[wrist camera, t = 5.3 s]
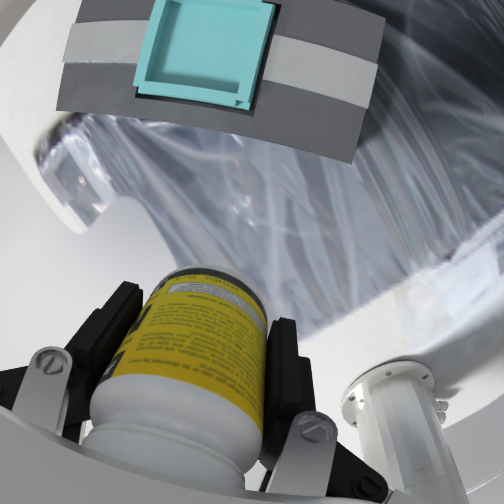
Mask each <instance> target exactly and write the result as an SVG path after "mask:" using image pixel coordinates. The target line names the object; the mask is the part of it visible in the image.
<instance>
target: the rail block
mask: <svg viewBox="0 0 504 504" xmlns="http://www.w3.org/2000/svg"><path fill="white" fill-rule="evenodd" d="M155 1H156V0H82V3H81V6H80V9H79V12H78V15H77V19H76V22H75V24H72V26H71V29H70V33H69V37H68V40H67V44H66V48H65V52H64V56H63V61H62V62H65V64H64V69H63V74H62V78H61V84H60V89H59V95H58V101H57V107H56V111H69V112H84V113H96V114H107V115H117V116H126V117H134V118H142V119H150V120H157V121H164V122H170V123H177V124H183V125H189V126H195V127H200V128H206V129H211V130H216V131H222V132H227V133H231V134H236V135H241V136H246V137H250V138H255V139H259V140H263V141H268V142H272V143H276V144H280V145H284V146H288V147H292V148H296V149H300V150H303V151H307V152H311V153H314V154H318V155H321V156H325V157H328V158H332V159H335V160H339V161H342V162H345V163H349V164H352V161H353V157H354V154H355V150H356V147H357V143H358V139H359V135H360V132H361V128H362V124H363V120H364V116H365V112H366V109H368V106H369V102H370V98H371V94H372V90H373V85H374V81H375V77H376V72H377V68H378V65H377V61H378V56H379V51H380V46H381V42H382V37H383V32H384V26H385V21H386V18H384V17H381V16H379V15H376V14H373V13H371V12H368V11H365V10H362V9H359V8H356V7H353V6H350V5H347V4H344V3H341V2H337V1H334V0H263V3H268V4H273V5H275V17H274V20H273V24H272V28H271V32H270V36H269V39H268V43H267V47H266V51H265V55H264V59H263V63H262V67H261V71H260V75H259V79H258V83H257V87H256V91H255V95H254V99H253V104H252V108H251V111H248V110H243V109H238V108H233V107H228V106H222V105H217V104H211V103H205V102H199V101H193V100H186V99H179V98H172V97H164V96H156V95H147V94H142V93H138V89H139V87H137V86H133V82H134V78H135V73H136V69H137V65H138V61H139V56H140V52H141V49H142V45H143V41H144V37H145V34H146V30H147V27H148V23H149V20H150V17H151V13H152V10H153V7H154V4H155Z"/></svg>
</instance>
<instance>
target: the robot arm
mask: <svg viewBox="0 0 504 504" xmlns="http://www.w3.org/2000/svg"><path fill="white" fill-rule="evenodd" d="M142 309H143V290H142V289H139V285H138V284H134V283H131V282H127V281H124V282H123V283H122V284H121V285H120V286H119V287H118V289H117V290H116V291H115V292H114V293H113V295H112V296H111V297H110V298H109V300H108V301H107V302H106V303H105V305H104V306H103V307H102V308H101V309H99V308H98V309H95V310H94V311H93V312H92V314H91V315H90V316H89V318H87V320H86V321H85V322H84V323H83V325H82V326H81V327H80V328H79V330H78V331H77V332H76V334H75V335H74V336H73V338H72V339H71V340H70V341H69V343H68V344H67V345H66V347H65V348H64V349H63V348H59V347H53V346H50V347H44V348H42V349H40V350H38V351H37V352H36V353H35V354H34V355H33V357H32V359H31V361H30V363H29V366H25V367H20V368H15V369H9V370H5V371H0V504H470V503H469V500H468V498H467V495H466V492H465V489H464V486H463V483H462V480H461V477H460V475H459V472H458V469H457V466H456V463H455V461H454V458H453V455H452V453H451V450H450V447H449V445H448V442H447V440H446V437H445V434H444V432H443V429H442V427H441V425H440V424H443V423H444V421H445V419H446V414H445V412H443V411H446V410H447V409H448V402H447V401H438V402H436V400H435V398H434V396H433V394H432V393H433V391H434V385H435V382H434V378H433V375H432V373H431V371H430V370H429V369H428V368H427V367H426V366H425V365H423V364H421V363H418V362H414V361H398V362H393V363H388V364H385V365H382V366H379V367H377V368H375V369H373V370H371V371H369V372H367V373H366V374H364V375H362V376H361V377H360V378H359V379H357V380H356V381H355V382H354V383H353V384H352V385H351V386H350V387H349V388H348V389H347V391H346V392H345V394H344V396H343V398H342V401H341V410H342V415H343V418H344V420H345V421H346V422H347V423H348V424H349V425H351V426H353V427H355V428H358V432H359V437H360V442H361V447H362V453H363V458H364V462H363V461H362V460H361V459H359V458H358V457H357V456H355V455H354V454H353V453H352V452H350V451H349V450H348V449H346V448H345V447H344V446H343V445H341V444H340V443H339V442H338V441H337V436H338V429H337V427H336V424H335V423H334V422H333V420H332V419H331V418H329V417H328V416H327V415H325V414H323V413H321V412H317V411H316V406H315V397H314V388H313V379H312V371H311V363H310V359H309V358H307V357H301V356H299V355H298V344H297V332H296V322H295V320H292V319H287V318H281V317H280V319H279V321H276V320H274V321H273V323H272V326H271V330H270V333H269V336H268V339H267V351H266V371H265V394H264V418H263V438H262V447H261V452H260V455H259V458H258V460H260V463H261V464H262V465H263V466H264V467H265V468H266V470H265V472H264V474H263V477H262V480H261V482H260V485H259V487H258V489H257V491H249V490H242V489H235V488H229V487H223V486H217V485H212V484H207V483H202V482H197V481H192V480H188V479H184V478H179V477H175V476H171V475H167V474H164V473H160V472H156V471H153V470H149V469H146V468H143V467H139V466H136V465H133V464H130V463H127V462H124V461H121V460H118V459H115V458H112V457H110V456H107V455H104V454H102V453H99V452H96V451H94V450H91V449H89V448H86V447H84V446H81V445H82V441H83V440H84V434H85V428H86V421H87V420H90V419H91V417H90V402H91V398H92V395H93V393H94V391H95V389H96V386H97V384H98V383H99V381H100V379H101V378H102V376H103V374H104V373H105V371H106V369H107V367H108V365H109V363H110V362H111V360H112V359H113V357H114V355H115V353H116V352H117V350H118V348H119V347H120V345H121V343H122V342H123V340H124V338H125V336H126V335H127V332H128V330H129V329H130V328H131V326H132V325H133V323H134V322H135V320H136V318H137V317H138V315H139V314H140V312H141V310H142Z"/></svg>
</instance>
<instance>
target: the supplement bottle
mask: <svg viewBox="0 0 504 504" xmlns="http://www.w3.org/2000/svg"><path fill="white" fill-rule="evenodd" d="M267 327H268V318H267V311H266V307H265V304H264V301H263V299H262V297H261V295H260V294H259V292H258V291H257V289H256V288H255V287H254V286H253V285H252V284H251V283H250V282H249V281H248V280H247V279H245V278H244V277H243V276H241V275H240V274H238V273H236V272H234V271H232V270H230V269H227V268H224V267H221V266H216V265H209V264H195V265H189V266H185V267H181V268H179V269H176V270H174V271H173V272H171V273H169V274H168V275H167V276H165V277H164V278H163V279H162V280H161V281H160V283H159V284H158V285H157V287H156V288H155V289H154V291H153V292H152V294H151V295H150V297H149V299H148V300H147V302H146V304H145V306H144V307H143V309H142V310H141V312H140V314H139V315H138V317H137V318H136V320H135V322H134V323H133V325H132V326H131V328H130V329H129V330H128V332H127V335H126V336H125V338H124V340H123V342H122V343H121V345H120V347H119V348H118V350H117V352H116V353H115V355H114V357H113V359H112V360H111V362H110V363H109V365H108V367H107V369H106V371H105V373H104V374H103V376H102V378H101V379H100V381H99V383H98V384H97V386H96V389H95V391H94V393H93V395H92V398H91V402H90V417H91V421H92V425H93V427H94V428H93V429H92V430H91V431H90V433H89V434H88V436H86V437H85V438H84V440H83V441H82V445H81V446H84V447H86V448H89V449H91V450H94V451H96V452H99V453H102V454H104V455H107V456H110V457H112V458H115V459H118V460H121V461H124V462H127V463H130V464H133V465H136V466H139V467H143V468H146V469H149V470H153V471H156V472H160V473H164V474H167V475H171V476H175V477H179V478H184V479H188V480H192V481H197V482H202V483H207V484H212V485H217V486H223V487H229V488H235V489H242V490H245V485H244V484H245V477H244V474H245V473H247V472H248V471H249V470H250V469H251V468H252V467H253V466H254V464H255V463H256V461H257V460H258V458H259V455H260V452H261V447H262V438H263V418H264V394H265V371H266V351H267Z"/></svg>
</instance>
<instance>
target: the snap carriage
mask: <svg viewBox="0 0 504 504" xmlns="http://www.w3.org/2000/svg"><path fill="white" fill-rule="evenodd" d="M274 17H275V5H273V4H268V3H263V0H156V1H155V4H154V7H153V10H152V13H151V17H150V20H149V23H148V27H147V30H146V34H145V37H144V41H143V45H142V49H141V52H140V56H139V61H138V65H137V69H136V73H135V78H134V82H133V86H137V87H139V89H138V93H142V94H147V95H156V96H164V97H172V98H179V99H186V100H193V101H199V102H205V103H211V104H217V105H222V106H228V107H233V108H238V109H243V110H248V111H251V108H252V104H253V99H254V95H255V91H256V87H257V83H258V79H259V75H260V71H261V67H262V63H263V59H264V55H265V51H266V47H267V43H268V39H269V36H270V32H271V28H272V24H273V20H274Z"/></svg>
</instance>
